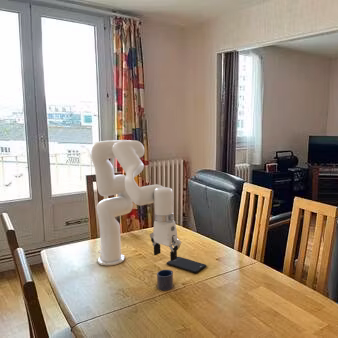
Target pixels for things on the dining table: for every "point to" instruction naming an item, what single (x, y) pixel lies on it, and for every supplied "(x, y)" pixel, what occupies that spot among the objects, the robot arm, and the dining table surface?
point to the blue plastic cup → (165, 279)
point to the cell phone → (187, 264)
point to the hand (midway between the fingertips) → (165, 256)
